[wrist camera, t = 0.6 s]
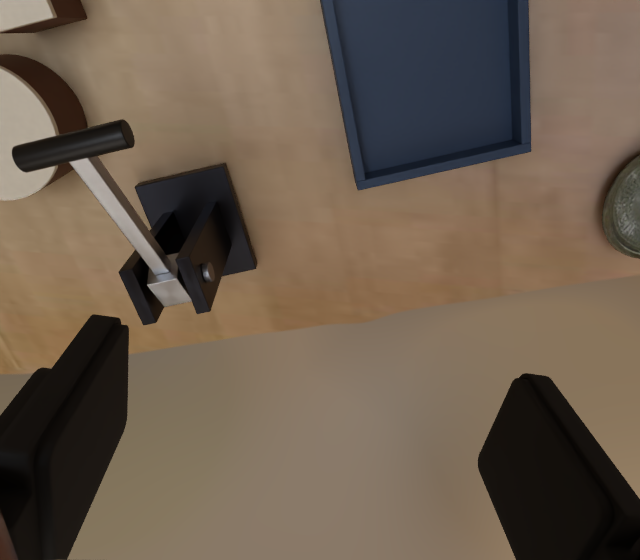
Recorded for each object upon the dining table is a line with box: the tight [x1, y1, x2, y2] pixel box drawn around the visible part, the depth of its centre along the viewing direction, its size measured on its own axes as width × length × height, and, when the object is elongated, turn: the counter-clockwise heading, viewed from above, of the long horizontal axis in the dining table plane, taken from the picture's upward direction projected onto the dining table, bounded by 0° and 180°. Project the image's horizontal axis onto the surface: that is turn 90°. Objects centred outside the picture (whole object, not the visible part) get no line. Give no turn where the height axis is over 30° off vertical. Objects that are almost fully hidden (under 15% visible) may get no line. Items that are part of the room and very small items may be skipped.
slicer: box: [119, 163, 257, 325], centre depth 39 cm, size 10×8×13 cm
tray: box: [320, 0, 531, 190], centre depth 38 cm, size 17×15×2 cm
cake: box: [0, 54, 87, 200], centre depth 37 cm, size 10×10×6 cm
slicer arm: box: [12, 119, 192, 307], centre depth 30 cm, size 14×6×2 cm, turn 13°
